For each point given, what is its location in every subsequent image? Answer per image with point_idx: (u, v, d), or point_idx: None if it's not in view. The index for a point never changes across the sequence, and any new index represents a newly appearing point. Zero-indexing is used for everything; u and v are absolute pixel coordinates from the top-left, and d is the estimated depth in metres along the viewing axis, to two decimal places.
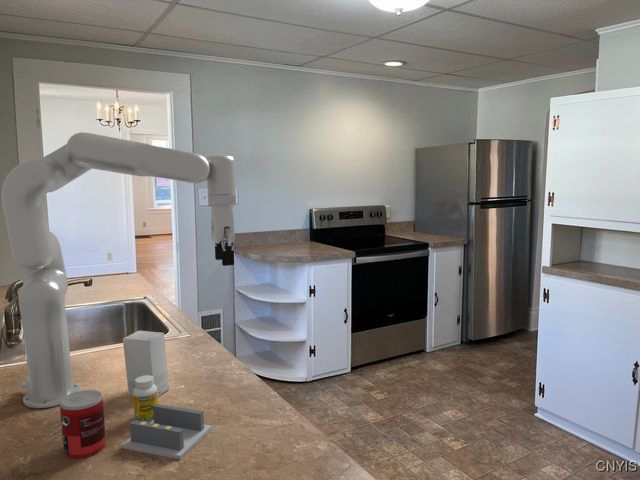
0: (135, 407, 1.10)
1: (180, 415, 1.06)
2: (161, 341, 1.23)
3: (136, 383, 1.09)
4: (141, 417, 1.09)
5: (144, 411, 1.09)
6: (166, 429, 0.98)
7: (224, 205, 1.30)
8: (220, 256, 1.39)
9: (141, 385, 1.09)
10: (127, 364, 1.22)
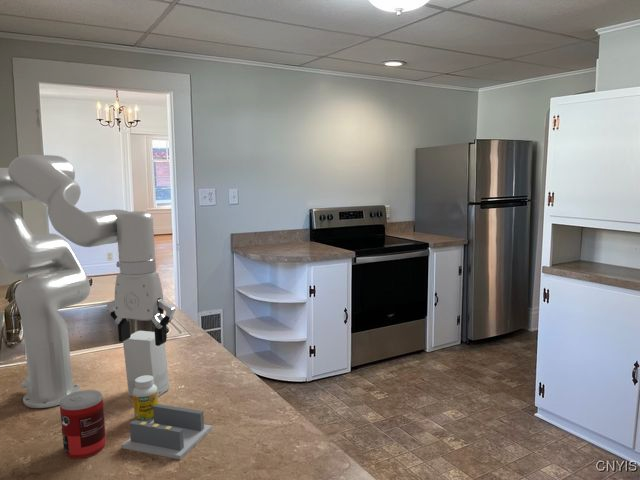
0: (135, 407, 1.10)
1: (180, 415, 1.06)
2: None
3: (136, 383, 1.09)
4: (141, 417, 1.09)
5: (144, 411, 1.09)
6: (166, 429, 0.98)
7: (152, 273, 1.06)
8: (125, 336, 1.11)
9: (141, 385, 1.09)
10: (127, 364, 1.22)
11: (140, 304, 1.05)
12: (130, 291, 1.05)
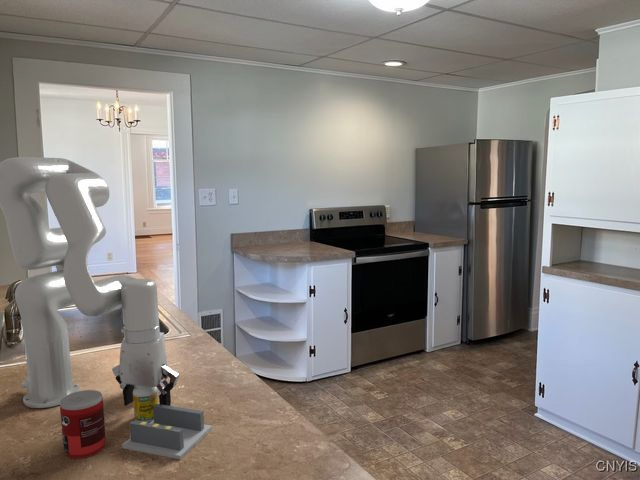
0: (135, 407, 1.10)
1: (180, 415, 1.06)
2: None
3: None
4: (141, 417, 1.09)
5: (144, 411, 1.09)
6: (166, 429, 0.98)
7: (156, 340, 1.08)
8: (130, 399, 1.13)
9: None
10: None
11: (145, 371, 1.07)
12: (135, 358, 1.07)
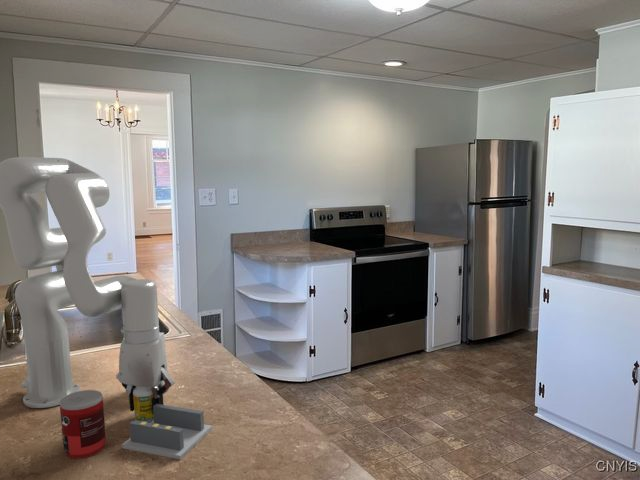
0: (135, 407, 1.10)
1: (180, 415, 1.06)
2: None
3: None
4: (141, 417, 1.09)
5: (145, 411, 1.09)
6: (166, 429, 0.98)
7: (155, 340, 1.08)
8: None
9: None
10: None
11: (144, 372, 1.07)
12: (134, 359, 1.07)
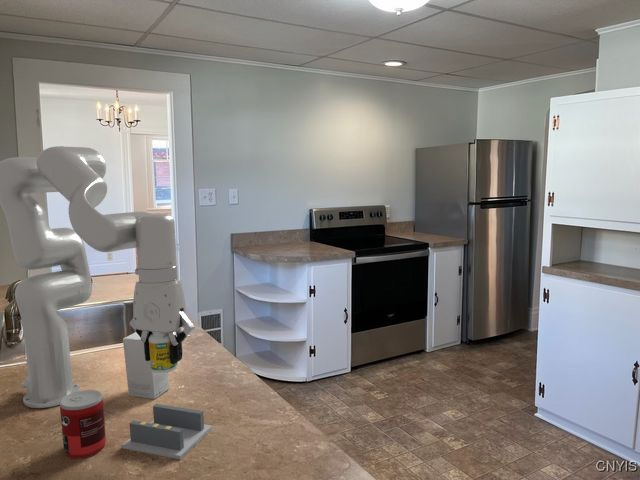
0: (151, 355, 0.99)
1: (180, 415, 1.06)
2: None
3: None
4: (158, 366, 0.99)
5: (162, 359, 0.99)
6: (166, 429, 0.98)
7: (173, 280, 0.98)
8: None
9: None
10: (127, 364, 1.22)
11: (161, 315, 0.96)
12: (150, 301, 0.97)
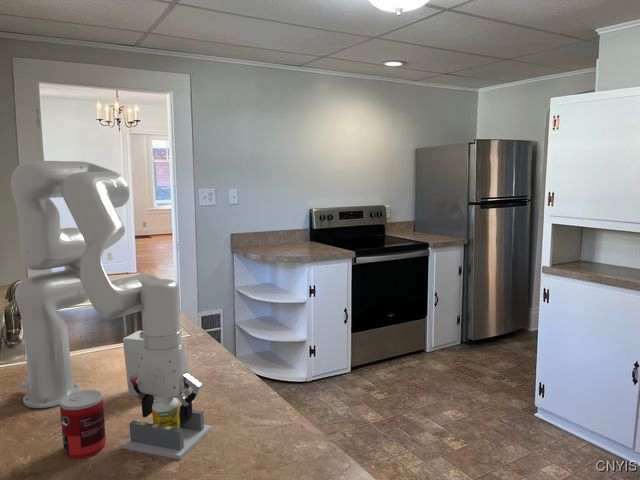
0: (155, 423, 1.01)
1: None
2: None
3: (156, 397, 1.01)
4: None
5: None
6: (166, 429, 0.98)
7: (178, 346, 0.99)
8: (149, 411, 1.04)
9: (161, 399, 1.00)
10: (127, 364, 1.22)
11: (165, 380, 0.98)
12: (155, 366, 0.98)
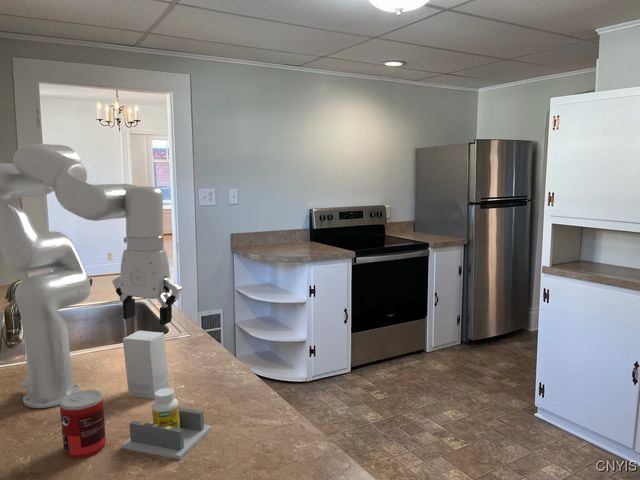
0: (155, 423, 1.01)
1: (180, 415, 1.06)
2: (161, 341, 1.23)
3: (156, 397, 1.01)
4: None
5: None
6: (166, 429, 0.98)
7: (159, 250, 1.03)
8: (130, 313, 1.08)
9: (161, 399, 1.00)
10: (127, 364, 1.22)
11: (146, 282, 1.02)
12: (136, 268, 1.03)
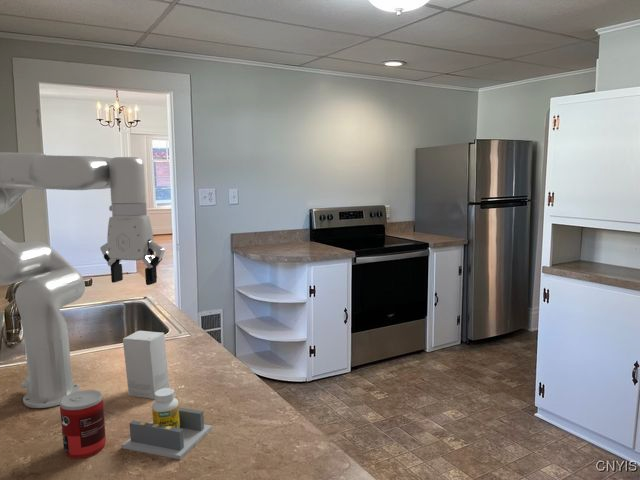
0: (155, 423, 1.01)
1: (180, 415, 1.06)
2: (161, 341, 1.23)
3: (156, 397, 1.01)
4: None
5: None
6: (166, 429, 0.98)
7: (142, 215, 1.12)
8: (117, 277, 1.16)
9: (161, 399, 1.00)
10: (127, 364, 1.22)
11: (131, 244, 1.11)
12: (122, 232, 1.11)
